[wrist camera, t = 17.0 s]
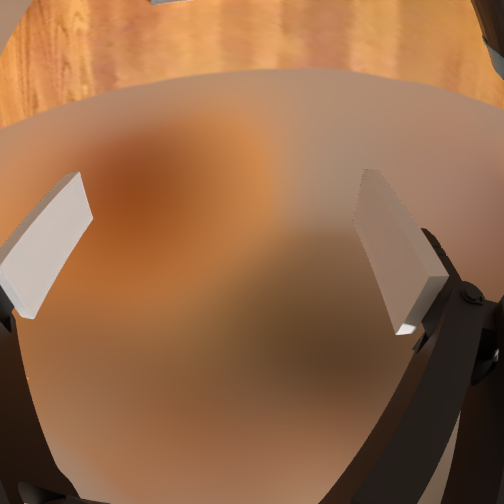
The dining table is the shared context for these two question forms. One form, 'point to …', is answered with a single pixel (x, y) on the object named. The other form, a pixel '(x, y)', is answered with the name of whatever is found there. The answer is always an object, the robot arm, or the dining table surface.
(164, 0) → the shallow rectangular tray
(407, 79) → the dining table surface
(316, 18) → the dining table surface
